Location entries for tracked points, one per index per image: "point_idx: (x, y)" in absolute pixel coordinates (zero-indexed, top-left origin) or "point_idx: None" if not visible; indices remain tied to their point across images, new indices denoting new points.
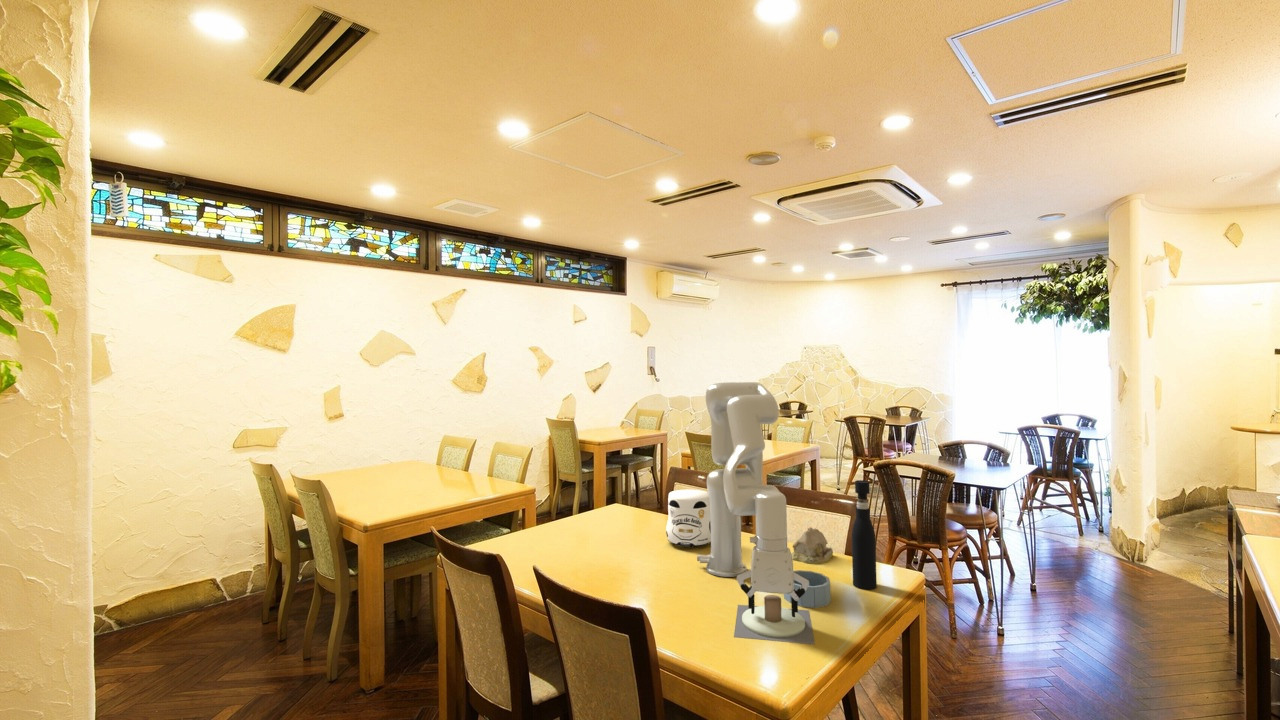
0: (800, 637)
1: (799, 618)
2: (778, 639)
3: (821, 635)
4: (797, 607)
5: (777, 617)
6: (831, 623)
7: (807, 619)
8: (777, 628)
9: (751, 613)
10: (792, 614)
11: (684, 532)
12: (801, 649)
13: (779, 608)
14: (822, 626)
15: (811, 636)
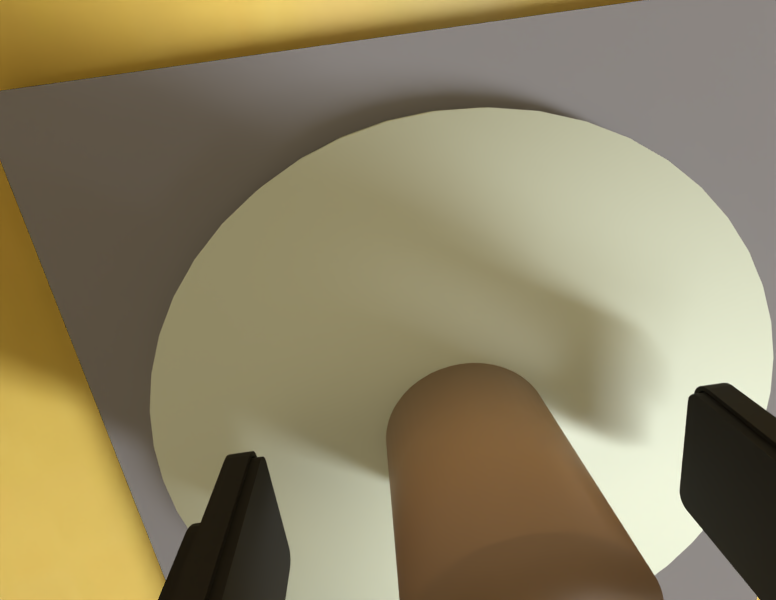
0: (159, 206)
1: None
2: (373, 74)
3: (24, 373)
4: (174, 570)
5: (424, 408)
6: (14, 583)
7: None
8: (404, 248)
9: (723, 383)
10: (252, 471)
11: None
12: (121, 12)
13: (411, 498)
14: (65, 520)
15: (61, 266)
